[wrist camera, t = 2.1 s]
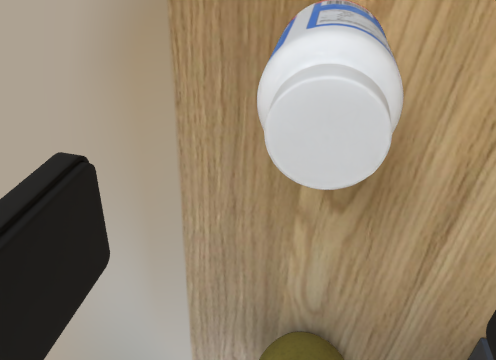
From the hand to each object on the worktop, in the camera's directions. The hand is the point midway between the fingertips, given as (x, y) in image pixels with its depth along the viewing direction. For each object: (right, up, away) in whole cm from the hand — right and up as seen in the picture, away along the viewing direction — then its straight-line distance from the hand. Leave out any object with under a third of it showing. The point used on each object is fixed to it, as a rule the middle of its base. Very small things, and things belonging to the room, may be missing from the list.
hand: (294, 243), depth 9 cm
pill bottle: (+3, +8, +12) cm, 15 cm away
